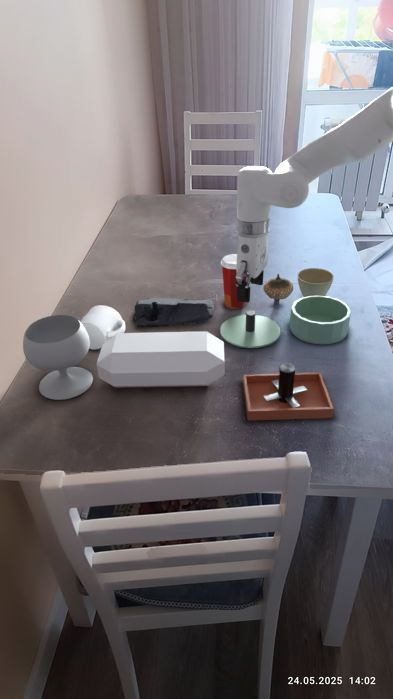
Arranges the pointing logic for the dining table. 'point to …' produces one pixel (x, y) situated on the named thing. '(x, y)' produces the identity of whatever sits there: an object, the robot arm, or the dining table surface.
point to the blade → (286, 387)
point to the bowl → (320, 319)
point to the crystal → (161, 359)
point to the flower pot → (314, 281)
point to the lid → (250, 331)
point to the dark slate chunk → (172, 311)
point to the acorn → (278, 289)
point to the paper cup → (231, 281)
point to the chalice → (58, 355)
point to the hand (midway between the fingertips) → (250, 292)
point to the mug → (102, 325)
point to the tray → (310, 402)
